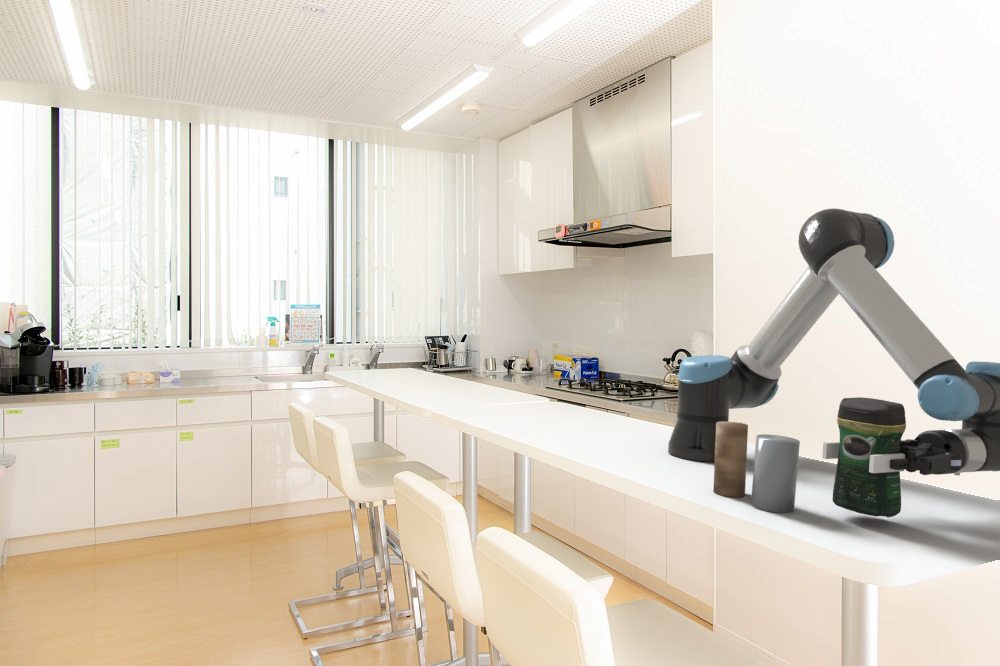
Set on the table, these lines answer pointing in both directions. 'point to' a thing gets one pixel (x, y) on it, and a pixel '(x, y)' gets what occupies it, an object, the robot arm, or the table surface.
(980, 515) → the table surface
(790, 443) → the slate canister
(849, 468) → the coffee jar
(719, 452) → the walnut spice mill
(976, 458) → the robot arm
